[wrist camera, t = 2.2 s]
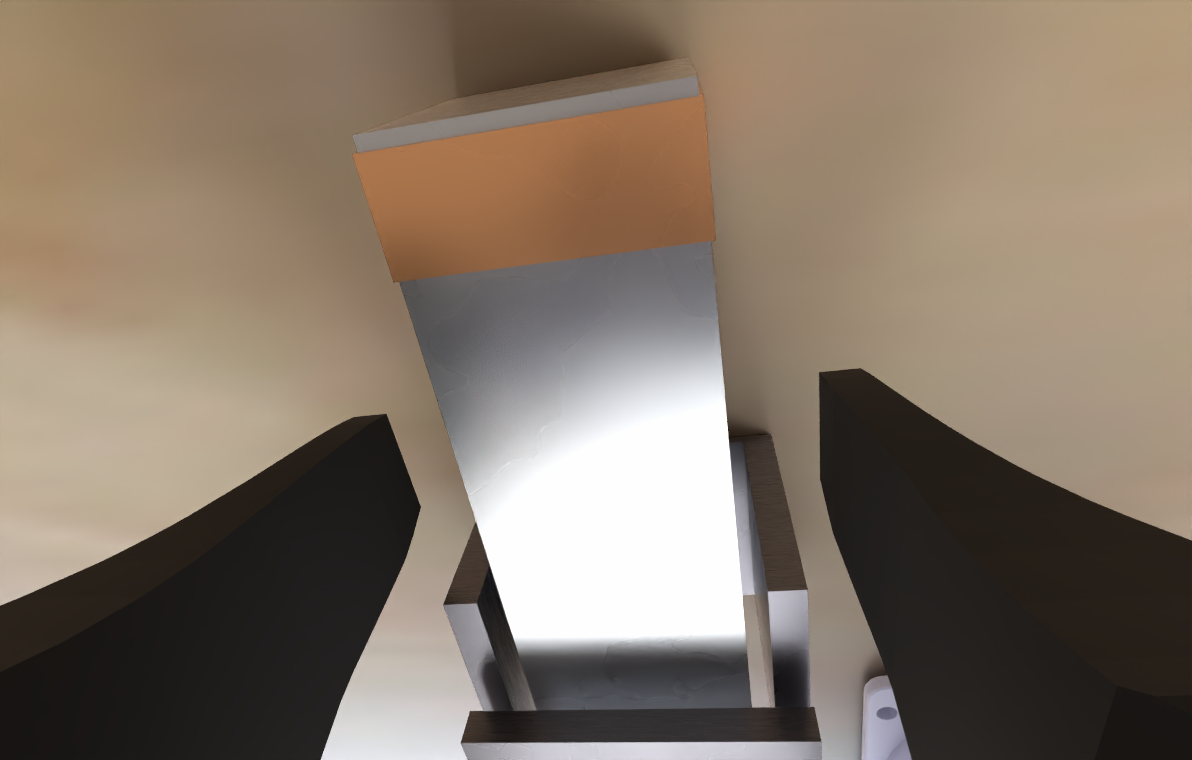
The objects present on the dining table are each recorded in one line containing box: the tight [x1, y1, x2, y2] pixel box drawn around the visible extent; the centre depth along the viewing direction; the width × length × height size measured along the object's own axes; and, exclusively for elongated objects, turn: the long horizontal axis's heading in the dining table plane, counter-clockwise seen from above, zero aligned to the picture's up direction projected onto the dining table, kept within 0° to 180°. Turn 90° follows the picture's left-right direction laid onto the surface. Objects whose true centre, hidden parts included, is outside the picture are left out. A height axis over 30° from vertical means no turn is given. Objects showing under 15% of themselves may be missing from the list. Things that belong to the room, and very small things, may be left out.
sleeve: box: [443, 434, 822, 760], centre depth 13 cm, size 4×6×5 cm
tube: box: [352, 57, 752, 710], centre depth 12 cm, size 12×4×4 cm, turn 9°
